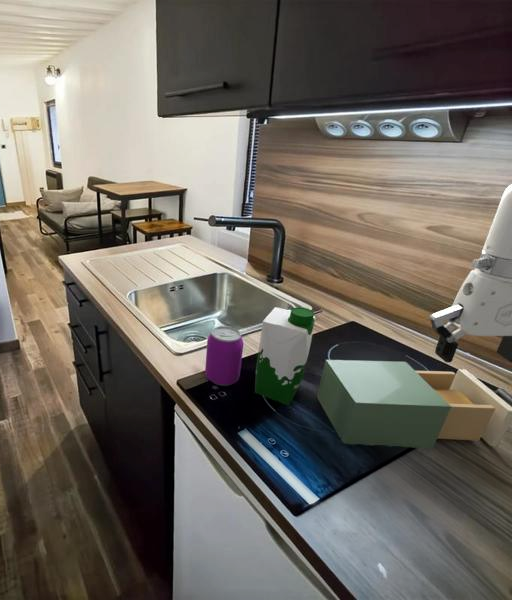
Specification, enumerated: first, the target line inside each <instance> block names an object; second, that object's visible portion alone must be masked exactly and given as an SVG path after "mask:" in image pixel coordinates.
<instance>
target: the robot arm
mask: <svg viewBox="0 0 512 600" xmlns="http://www.w3.org/2000/svg"><path fill="white" fill-rule="evenodd" d="M500 199H501V200H500V201H499V204H498V207H497V209H496V212H495V215H494V217H493V220H492V223H491V225H490V229H489V231H488V233H487V237H486V240H485V242H484V245H483V247H482V250H481V253H480V255H479V258H476V259H475V258H474V259H473V260H472V261H471V267H472V268H474V269H472V270H470V272H469V273H468V275H467V276H466V278H465V280H463V282H462V284H461V286H460V288H459V290H458V292H457V294H456V296H455V298H454V301H453V303H452V305H451V306H450V307H448V308H445V309H442V310H440V311H437V312H434V313H432V314H430V315H429V320H430V324H431V328H432V329H433V330H434V331H435V333H436V334H437V335H439V337H438V341H437V344H436V346H435V351H434V353H435V355H436V356H438V357H439V358H440V359H441V360H442V361H443V362H445V363H451V362H453V359H454V357H455V355H456V352H457V349H458V347H459V343H458V342H457V341H458V340H460V339H461V338H463V337H464V336H465V335H468V336H471V337H502V338H501V340H500V342H499V344H498V347H497V349H496V353H497V354H498V355H499V356H501V357H502V358H504V360H507V361H508V362H509V363H512V184H510V185H508V186H507V187H506V188H505V190H504V192H503V194H502V196H501V198H500ZM446 321H448V322H447V323H446V324H445V322H446ZM456 328H457V329H456ZM454 329H456V330H454ZM453 330H454V331H453ZM451 331H453V332H452V333H451Z"/></svg>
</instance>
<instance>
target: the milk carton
mask: <svg viewBox="0 0 512 600" xmlns="http://www.w3.org/2000/svg"><path fill="white" fill-rule="evenodd" d="M316 318H317V317H316V316H315V313H314V311H313V310H312V309H309V308H307V307H301V306H300V307H299V306H297V307H293V308H292V309H284V308H281V307H274V308H273V309H272V310H271V311H270V312H269V313H268V315H267V316H265V318H264V319H263V320H262V324H261V331H260V337H259V345H258V352H257V360H256V367H255V379H254V381H255V382H254V394H258V395H260V396H262V397H265V398H268V399H270V400H273V401H275V402H278V403H281V404H283V405H285V406H287V407H288V406H290V405H291V403H292V401H293V400H294V397H295V396H296V393H297V392H298V390H299V387H300V386H301V383H302V382H303V379H304V376H305V371H306V368H307V363H308V357H309V354H310V349H311V344H312V339H313V333H314V328H315V322H316Z"/></svg>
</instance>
